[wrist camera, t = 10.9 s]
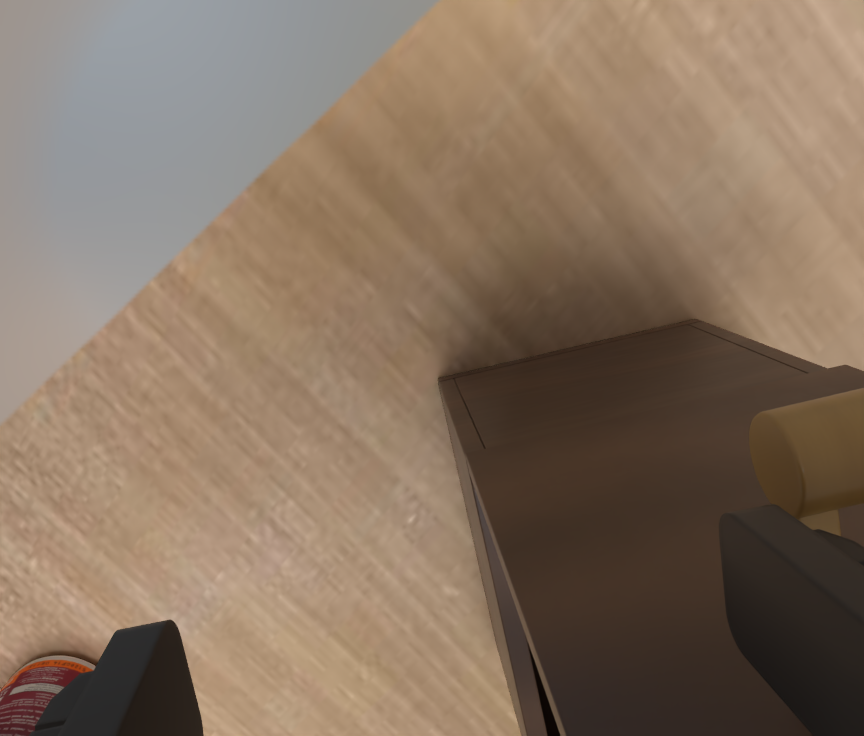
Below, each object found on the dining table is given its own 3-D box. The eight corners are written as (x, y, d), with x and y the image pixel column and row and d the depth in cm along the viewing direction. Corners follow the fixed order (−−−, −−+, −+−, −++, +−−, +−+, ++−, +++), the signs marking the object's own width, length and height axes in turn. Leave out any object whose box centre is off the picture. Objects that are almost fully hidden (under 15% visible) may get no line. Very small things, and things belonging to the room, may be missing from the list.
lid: (1483, 643, 12) (1515, 307, 11) (603, 861, 12) (538, 538, 10) (847, 385, 28) (833, 239, 27) (469, 474, 28) (437, 329, 26)
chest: (736, 590, 44) (879, 745, 32) (497, 647, 44) (546, 827, 31) (696, 318, 41) (839, 372, 28) (436, 378, 40) (465, 459, 28)
